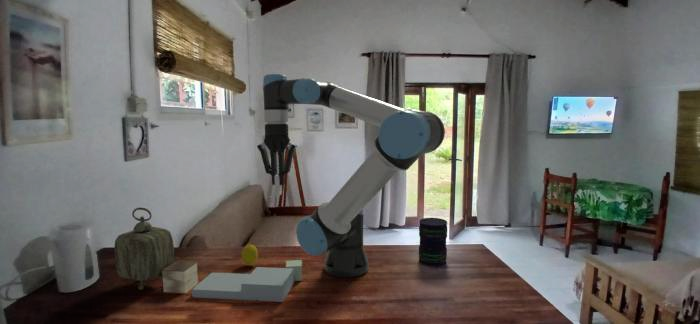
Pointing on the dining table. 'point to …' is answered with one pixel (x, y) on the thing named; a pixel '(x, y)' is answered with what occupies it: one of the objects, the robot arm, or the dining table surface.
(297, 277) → the sage cube
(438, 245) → the storage jar
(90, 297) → the dining table surface
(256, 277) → the stair
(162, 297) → the dining table surface
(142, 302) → the dining table surface
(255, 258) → the lemon
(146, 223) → the tabletop clock
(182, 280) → the birch cube
